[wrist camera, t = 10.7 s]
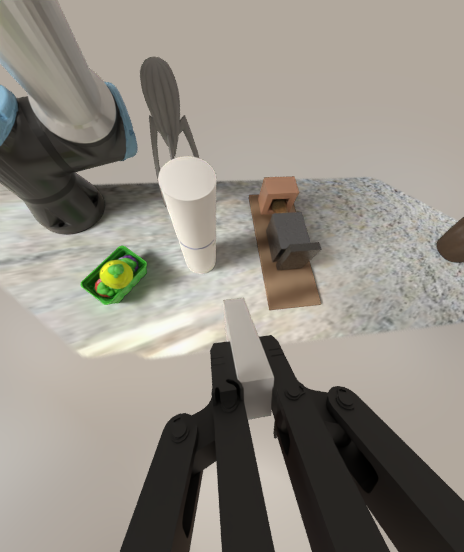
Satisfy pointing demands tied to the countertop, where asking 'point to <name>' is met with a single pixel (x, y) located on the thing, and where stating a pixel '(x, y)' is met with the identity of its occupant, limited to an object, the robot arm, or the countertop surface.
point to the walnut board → (281, 283)
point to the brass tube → (294, 246)
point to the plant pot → (453, 243)
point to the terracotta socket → (277, 192)
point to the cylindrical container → (192, 209)
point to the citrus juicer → (163, 108)
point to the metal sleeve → (285, 232)
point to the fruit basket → (115, 276)
